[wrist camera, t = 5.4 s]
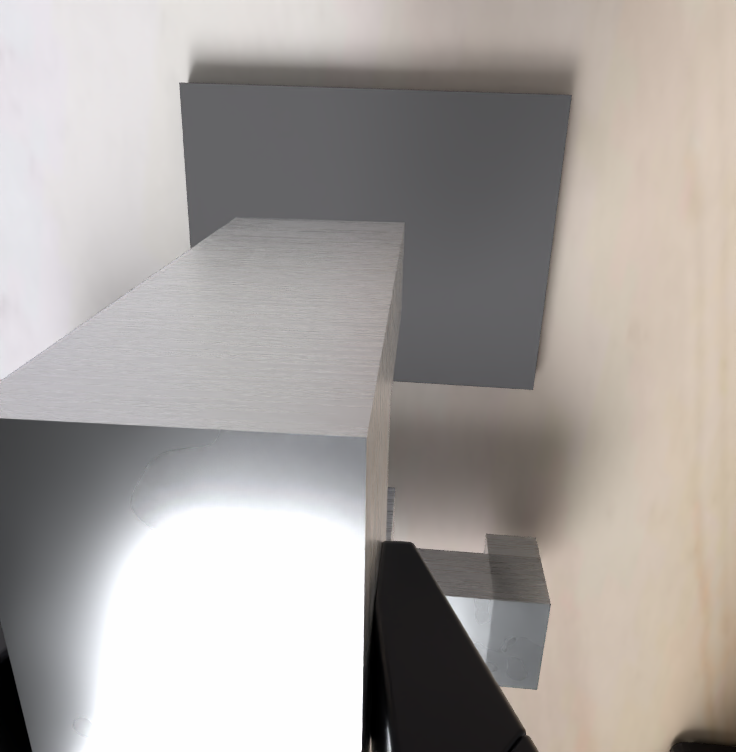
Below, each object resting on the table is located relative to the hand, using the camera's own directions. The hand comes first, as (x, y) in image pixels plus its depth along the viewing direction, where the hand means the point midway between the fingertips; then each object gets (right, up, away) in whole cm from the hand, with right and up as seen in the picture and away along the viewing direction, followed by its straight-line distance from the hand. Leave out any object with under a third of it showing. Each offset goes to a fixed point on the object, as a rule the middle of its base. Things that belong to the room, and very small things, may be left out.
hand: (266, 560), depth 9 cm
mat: (+1, +6, +11) cm, 12 cm away
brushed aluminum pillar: (0, 0, +1) cm, 1 cm away
